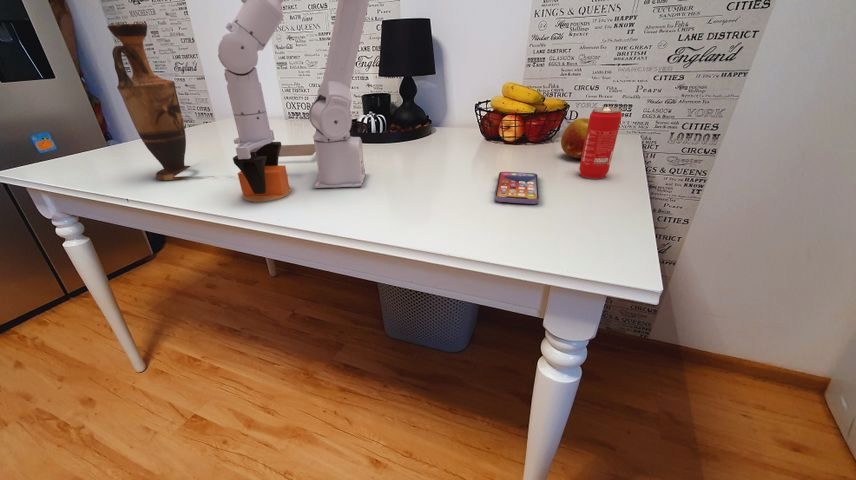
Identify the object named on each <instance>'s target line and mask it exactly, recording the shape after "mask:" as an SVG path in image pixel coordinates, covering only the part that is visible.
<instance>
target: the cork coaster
mask: <svg viewBox="0 0 856 480" xmlns="http://www.w3.org/2000/svg"><path fill="white" fill-rule="evenodd" d="M291 193H292V192H291V188H290V186H289V189H288V190H287V191H286V192H285V193H284V195H268V196H243V198H244V199H245V200H246V201H248V202H253V203H264V202H271V201H272V202H273V201H276V200H279V199H282V198H285V197H286V196H288V195H290V194H291Z"/></svg>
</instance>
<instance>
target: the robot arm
mask: <svg viewBox="0 0 856 480" xmlns="http://www.w3.org/2000/svg"><path fill="white" fill-rule="evenodd" d="M240 1H241V3H242V5H241V6H240V9H239V10H238V12H237V14H236V16H235V17H234V19H233V21H232V22H230V21H228V22H227V24H226V25H225V28H226V30H227V31H229V32H228V33H225V34H224V35H222V37H221V40H220V42H219V43H218V49H217V52H218V54H217V57H218V59H219V62H220V63H221V65H222V66H223V67H224V73H223V74H224V78H225V79H224V80H225V81H226V82H227V84H226V91H227V94H228V98H229V102H230V106H231V111H232V114H233V119H234V123H235V126H236V127H235V128H236V130H237V134H238V137H236V138H235V139H233V143H234V144H235V145H237V146H236V147H235V151H236V155H235V156H233V157H232V161H233V164H234V166H236V167H237V168H238V169H239V171H241V172H242V173H243V174H244V176H245V177H246V179H247V181H248V183H249V185H250V187H251V189H252V191H253V193H254V194H265V192H266V183H265V166H279V158H280V157H279V152H280V149H281V145H282V142H281V141H275V135H274V130H273V129H271V128H270V122H269V117H268V113H267V112H268V111H267V108H266V103H265V98H264V94H263V87H262V83H261V82H260V79H259V75H258V69H257V67H256V66H257V65H258V63H259V62H258V61H259V53H258V52H259V51H261V52H262V51H264V49H265V48H266V46H267V45H268V43H269V42H270V40H271V38H272V37H273V35H274V33H275V32H276V30H277V28H278V27H279V25H280V24H281V23H282V21H283V19H284V13H283V7H282V5H283V4H282V3H283V2H284V0H240ZM369 2H370V0H337V7H336V12H335V17H334V21H333V27H332V32H331V38H330V43H329V49H328V53H327V57H326V63H325V69H324V74H323V79H322V82H321V83H320V85H319V87H318V89H317V95H316V97H315V100H314V101H313V102H312V104H311V105H310V107H309V110H308V119H309V122H310V124H311V126H312V127H313V128H314V129H315V132H314V135H313V144H314V145H315V158H316V164H317V165H316V166H317V172H318V180H317V181H316V183H315V184H314V188H315V189H324V188H326V189H328V188H355V187H356V188H357V187H362V185H363V182H364V180H365V177H366V168H365V158H364V148H363V141H362V138H361V137H360V136H351V132H350V131H351V129H352V124H353V121H352V119H353V118H352V115H351V106H352V95H351V84H352V80H353V77H354V76H353V75H354V70H355V67H356V61H357V57H358V52H359V49H360V44H361V39H362V35H363V30H364V26H365V21H366V17H367V12H368V7H369ZM255 154H256V155H255Z"/></svg>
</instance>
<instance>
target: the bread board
mask: <svg viewBox="0 0 856 480" xmlns="http://www.w3.org/2000/svg"><path fill="white" fill-rule="evenodd" d="M314 154H316V152H315V145H314V143H308V144H307V143H306V144H305V143H304V144H281V149H280V152H279V158H280V157H282V158H283V157H305V156H313V155H314ZM255 155H256V154H255Z"/></svg>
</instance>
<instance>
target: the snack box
mask: <svg viewBox="0 0 856 480" xmlns="http://www.w3.org/2000/svg"><path fill="white" fill-rule="evenodd" d="M286 167H287V166H286V164H285V165H283V164H282V165H278V166H265V183H266V192H265V194H254V193H253V191H252V189H251V187H250V185H249V183H248V181H247V179H246V177H245V176H244V174H243V173H242V172H241V170H239V172H238V173H237V177H238V181H239V185H240V188H241V189H240V190H241V194H242V197H244V196H268V195H284V193H285V192H286V191H287V190H288V189H289V187H290V183H289V179H288V178H289V177H288V172H287V168H286Z"/></svg>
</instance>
